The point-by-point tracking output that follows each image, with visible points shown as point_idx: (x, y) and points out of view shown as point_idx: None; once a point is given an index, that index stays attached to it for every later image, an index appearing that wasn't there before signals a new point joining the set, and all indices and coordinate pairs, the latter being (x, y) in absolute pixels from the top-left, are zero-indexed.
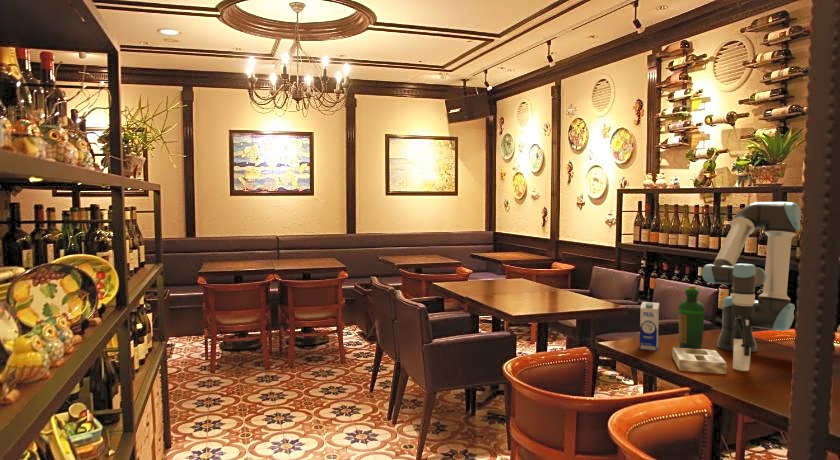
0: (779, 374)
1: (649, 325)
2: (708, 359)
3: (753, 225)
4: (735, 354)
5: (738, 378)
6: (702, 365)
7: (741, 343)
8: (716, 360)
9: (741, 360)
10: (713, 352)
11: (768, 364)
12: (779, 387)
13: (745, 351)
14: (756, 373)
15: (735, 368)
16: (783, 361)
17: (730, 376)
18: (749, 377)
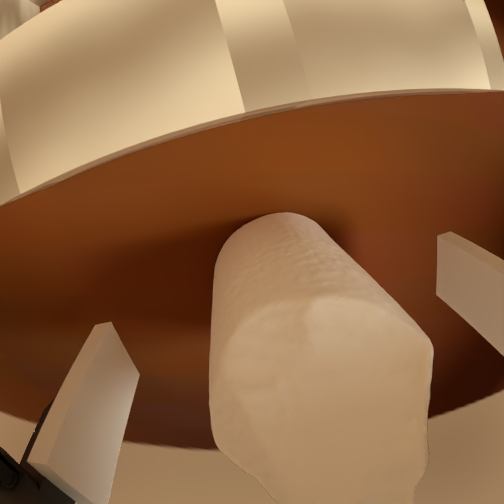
0: None
1: None
2: (47, 25)
3: None
4: (245, 293)
5: (6, 268)
6: None
7: (285, 473)
8: (42, 96)
9: (211, 323)
10: (433, 50)
11: (443, 375)
12: (22, 412)
13: (34, 436)
14: (200, 361)
15: (230, 238)
16: (486, 395)
17: (13, 221)
18: (68, 325)
